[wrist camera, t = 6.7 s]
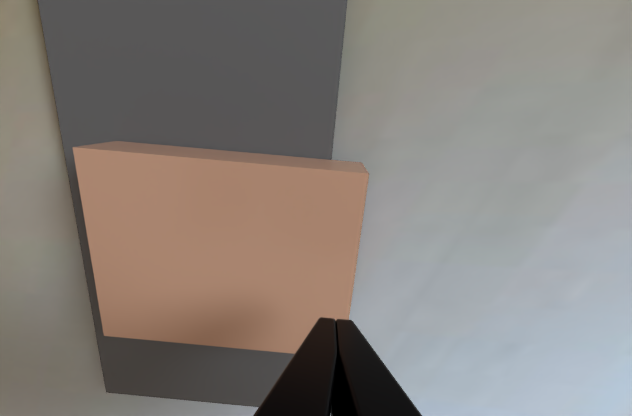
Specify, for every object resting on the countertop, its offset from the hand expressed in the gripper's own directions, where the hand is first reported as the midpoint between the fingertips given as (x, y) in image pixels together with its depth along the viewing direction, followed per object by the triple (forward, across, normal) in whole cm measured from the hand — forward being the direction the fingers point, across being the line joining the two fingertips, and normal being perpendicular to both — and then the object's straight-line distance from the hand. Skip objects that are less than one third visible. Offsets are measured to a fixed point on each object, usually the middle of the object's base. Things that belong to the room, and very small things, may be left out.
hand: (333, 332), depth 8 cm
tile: (+4, -1, 0) cm, 4 cm away
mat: (+5, +5, 0) cm, 7 cm away
